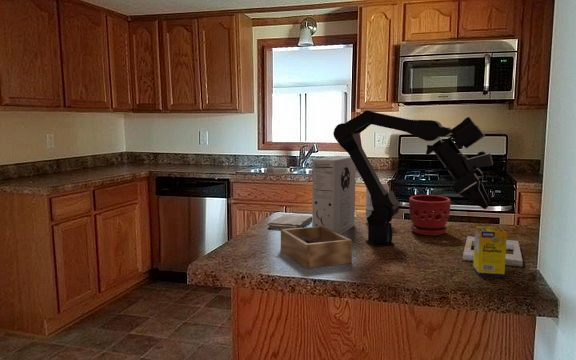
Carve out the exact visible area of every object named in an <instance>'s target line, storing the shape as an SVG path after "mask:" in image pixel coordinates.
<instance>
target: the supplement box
mask: <svg viewBox="0 0 576 360" xmlns="http://www.w3.org/2000/svg"><path fill="white" fill-rule="evenodd" d="M474 229H475V230H474V237H475V245H474V246H473V250H474V261H473V263H472V264H473V265H472V266H473V267H472V268H473V270H474V271H475V274H476V275H478V276H481V277H493V278H495V277H496V278H497V277H498V278H504V277H505V274H506V265H505V257H506V254H507V249H506V241H507V240H508V238H507V237H508V232H507V231H505V230H504V229H503V228H502V227H501V226H486V225H485V226H484V225H475V227H474Z"/></svg>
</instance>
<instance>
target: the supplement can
mask: <svg viewBox="0 0 576 360" xmlns="http://www.w3.org/2000/svg"><path fill="white" fill-rule="evenodd" d="M380 182H381V184H382V186H383V188H384V189H385V190H386V191H387V192H388V193H389V192H390V186H389V184H388V182H385V181H380ZM365 192H366V193H365V223H367V225H368V222H367V218H368V217H369V216H370V215H371V214H372V213H373V212H374V210H373V207H372V202H371V195H370V193H369V191H368V189H367V187H366V186H365Z"/></svg>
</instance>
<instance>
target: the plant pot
mask: <svg viewBox="0 0 576 360" xmlns="http://www.w3.org/2000/svg"><path fill="white" fill-rule="evenodd" d="M408 199H409V200H408V211H409V217H410V220H411V223H412V224H411V225H410V229H411V230H412V231H413V232H414V233H416V234H418V235H422V236H440V235H443V234H445V233H447V229H448V228H447V226H446V225H447V223H448V220H449V217H450V214H451V198H449V197H447V196H443V195H437V194H436V195H435V194H416V195H412V196H410V197H409V198H408Z"/></svg>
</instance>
